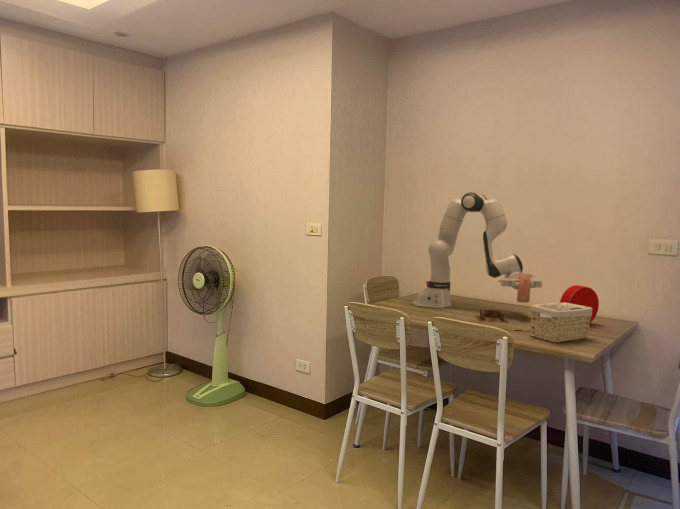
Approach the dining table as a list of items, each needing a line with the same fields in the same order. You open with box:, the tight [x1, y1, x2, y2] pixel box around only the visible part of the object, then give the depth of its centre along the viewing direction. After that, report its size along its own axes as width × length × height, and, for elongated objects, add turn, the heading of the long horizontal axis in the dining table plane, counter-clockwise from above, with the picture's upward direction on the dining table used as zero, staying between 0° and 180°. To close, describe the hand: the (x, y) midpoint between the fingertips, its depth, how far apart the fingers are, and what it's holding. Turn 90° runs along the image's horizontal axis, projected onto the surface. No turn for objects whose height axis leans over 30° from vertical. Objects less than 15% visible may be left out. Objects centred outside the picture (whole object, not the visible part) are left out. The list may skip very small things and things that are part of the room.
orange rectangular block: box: [516, 272, 532, 304], centre depth 263 cm, size 6×8×14 cm
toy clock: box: [559, 284, 600, 324], centre depth 263 cm, size 20×6×20 cm, turn 111°
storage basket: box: [529, 302, 592, 343], centre depth 236 cm, size 24×16×15 cm
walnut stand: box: [474, 308, 511, 324], centre depth 267 cm, size 15×15×5 cm
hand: (524, 285), depth 263 cm, fingers closed on orange rectangular block, 6 cm apart
